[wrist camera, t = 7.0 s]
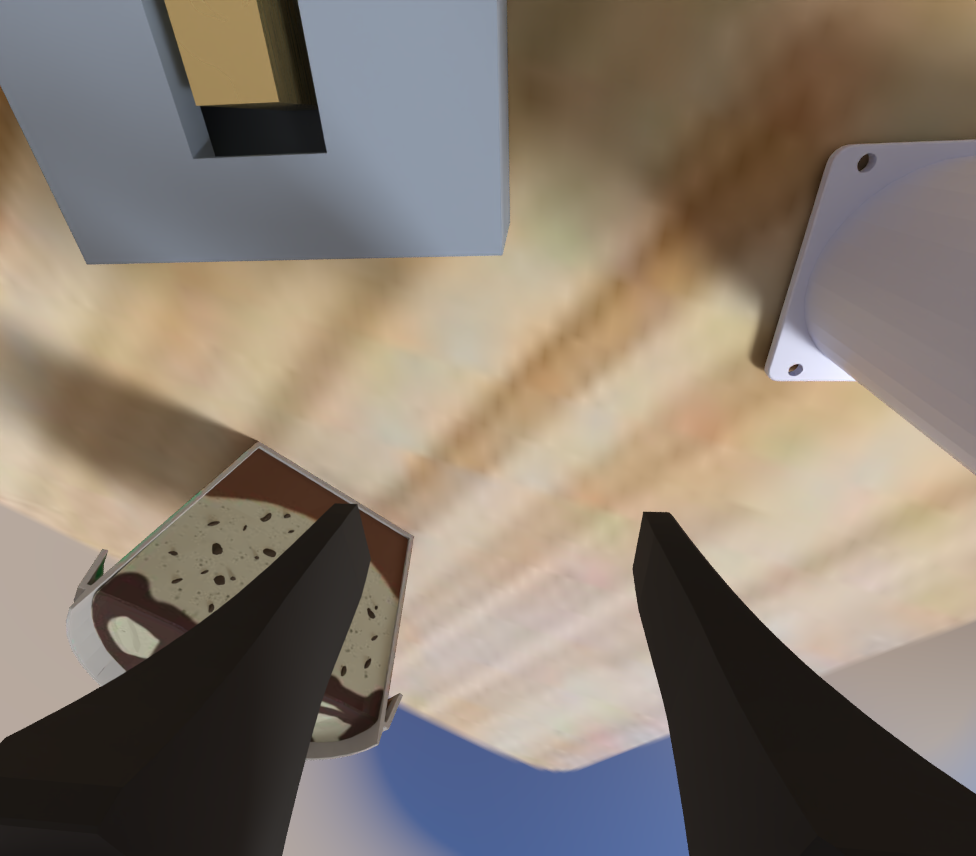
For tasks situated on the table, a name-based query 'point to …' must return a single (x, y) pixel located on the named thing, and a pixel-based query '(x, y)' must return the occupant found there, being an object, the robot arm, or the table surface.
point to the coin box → (269, 134)
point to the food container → (232, 566)
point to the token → (244, 53)
